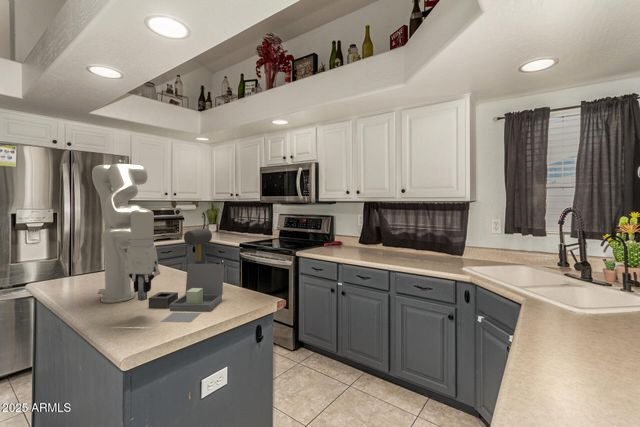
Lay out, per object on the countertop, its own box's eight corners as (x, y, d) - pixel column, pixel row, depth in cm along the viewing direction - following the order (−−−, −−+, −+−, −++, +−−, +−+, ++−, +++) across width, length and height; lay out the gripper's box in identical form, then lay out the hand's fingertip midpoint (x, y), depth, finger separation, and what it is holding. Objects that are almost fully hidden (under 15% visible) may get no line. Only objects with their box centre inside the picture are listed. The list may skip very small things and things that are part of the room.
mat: (160, 323, 109) (160, 321, 109) (173, 313, 118) (173, 312, 118) (190, 323, 108) (190, 322, 108) (201, 314, 117) (201, 313, 117)
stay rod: (136, 300, 114) (135, 274, 113) (141, 297, 117) (140, 272, 116) (143, 301, 113) (143, 274, 113) (148, 298, 116) (148, 272, 116)
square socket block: (148, 309, 123) (148, 297, 123) (159, 302, 131) (159, 292, 131) (168, 309, 122) (167, 298, 122) (178, 302, 130) (178, 292, 130)
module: (186, 309, 122) (186, 291, 121) (192, 304, 127) (192, 288, 126) (197, 309, 121) (197, 291, 121) (202, 305, 126) (202, 288, 126)
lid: (187, 263, 134) (188, 263, 135) (185, 294, 133) (186, 294, 133) (223, 264, 134) (224, 264, 135) (221, 294, 132) (222, 294, 133)
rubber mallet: (195, 295, 141) (194, 230, 140) (182, 293, 144) (182, 229, 143) (213, 288, 153) (213, 228, 152) (201, 286, 155) (201, 227, 154)
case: (169, 311, 120) (169, 304, 120) (185, 301, 133) (185, 294, 133) (209, 312, 119) (209, 305, 119) (221, 301, 132) (221, 294, 132)
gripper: (113, 243, 110) (114, 293, 111) (158, 245, 110) (158, 295, 111) (127, 240, 118) (127, 287, 119) (169, 242, 117) (169, 289, 118)
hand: (142, 290), depth 115 cm, fingers closed on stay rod, 3 cm apart
